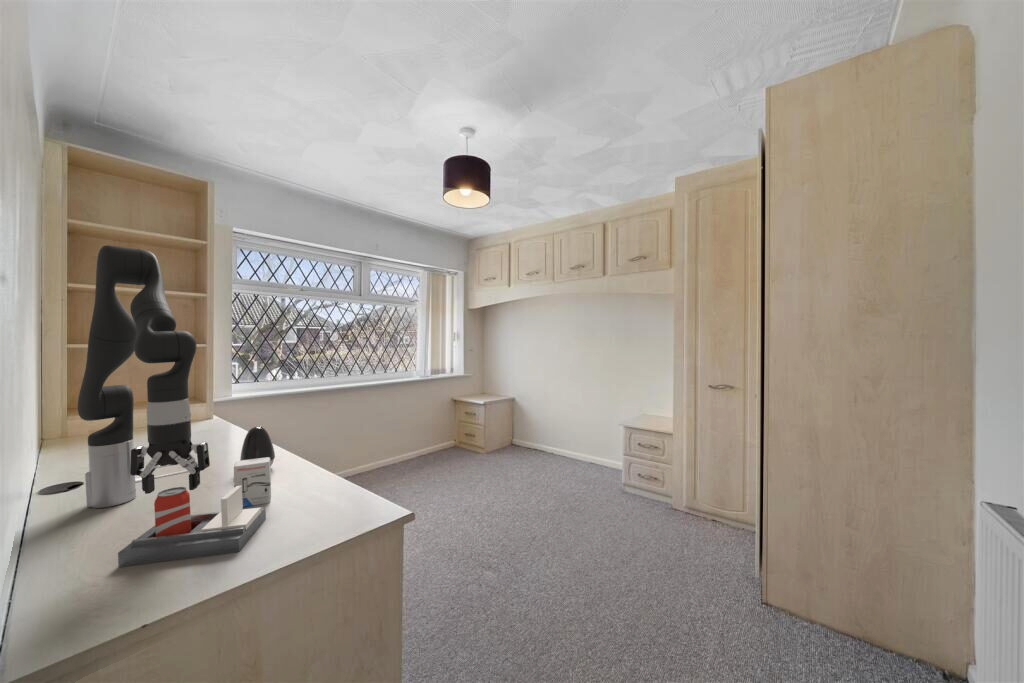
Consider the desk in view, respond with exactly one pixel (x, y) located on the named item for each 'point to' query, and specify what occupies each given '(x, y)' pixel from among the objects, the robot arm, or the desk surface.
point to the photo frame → (139, 479)
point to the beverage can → (172, 512)
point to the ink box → (253, 480)
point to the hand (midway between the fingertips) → (172, 490)
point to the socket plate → (188, 542)
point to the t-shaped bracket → (232, 513)
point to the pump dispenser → (257, 445)
